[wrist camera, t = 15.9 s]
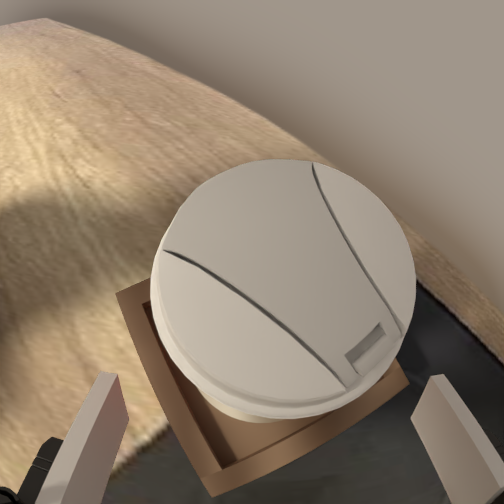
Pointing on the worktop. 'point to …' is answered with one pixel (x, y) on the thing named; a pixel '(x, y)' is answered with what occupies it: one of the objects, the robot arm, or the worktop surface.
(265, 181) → the paper cup
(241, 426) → the wooden coaster holder
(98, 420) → the robot arm
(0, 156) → the worktop surface
